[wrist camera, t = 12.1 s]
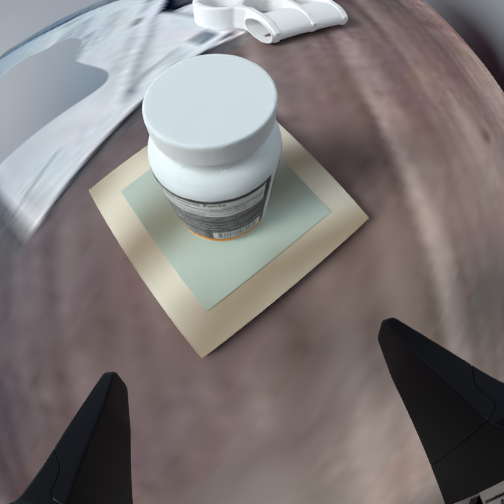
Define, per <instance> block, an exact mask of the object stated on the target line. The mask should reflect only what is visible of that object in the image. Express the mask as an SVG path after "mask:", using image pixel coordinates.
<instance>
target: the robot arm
mask: <svg viewBox="0 0 504 504" xmlns="http://www.w3.org/2000/svg"><path fill="white" fill-rule="evenodd" d="M378 341H379V344H380V347H381V350H382V352H383V355H384V358H385V360H386V363H387V366H388V369H389V372H390V374H391V377H392V379H393V381H394V384H395V386H396V388H397V390H398V392H399V394H400V396H401V398H402V400H403V402H404V405H405V407H406V409H407V411H408V413H409V415H410V418H411V420H412V422H413V424H414V427H415V429H416V431H417V433H418V436H419V438H420V440H421V443H422V445H423V447H424V450H425V452H426V455H427V457H428V459H429V462H430V464H431V467H432V470H433V472H434V475H435V477H436V480H437V483H438V485H439V488H440V491H441V493H442V496H443V499H444V502H445V504H454V503H456V502H459V501H461V500H464V499H466V498H469V497H471V496H473V495H476V494H477V495H476V496H474V497H473V498H472V499H471V500H470V503H469V504H504V383H502V382H500V381H498V380H496V379H494V378H492V377H491V376H489V375H487V374H485V373H484V372H482V371H480V370H479V369H477V368H476V367H474V366H471V364H469V363H467V362H466V361H464V360H463V359H461V358H459V357H458V356H456V355H455V354H453V353H451V352H450V351H448V350H447V349H445V348H443V347H442V346H440V345H438V344H437V343H435V342H434V341H432V340H430V339H429V338H427V337H425V336H424V335H422V334H420V333H419V332H417V331H416V330H414V329H412V328H411V327H409V326H407V325H406V324H404V323H402V322H401V321H399V320H397V319H396V318H389V319H386V320H383V322H382V324H381V328H380V331H379V335H378ZM10 504H133V499H132V482H131V429H130V417H129V405H128V391H127V387H126V385H125V383H124V382H123V381H122V380H121V378H120V377H119V376H118V374H117V373H115V372H107V373H104V374H103V375H102V377H101V378H100V380H99V381H98V383H97V384H96V385H95V387H94V388H93V390H92V391H91V393H90V394H89V396H88V397H87V399H86V400H85V402H84V403H83V405H82V406H81V408H80V409H79V411H78V412H77V414H76V415H75V417H74V418H73V420H72V421H71V423H70V424H69V426H68V428H67V429H66V431H65V432H64V434H63V435H62V437H61V439H60V440H59V442H58V443H57V445H56V446H55V449H54V450H53V451H52V453H51V454H50V456H49V458H48V459H47V461H46V462H45V464H44V465H43V467H42V468H41V470H40V471H39V472H38V474H37V475H36V477H35V478H34V479H33V480H32V482H31V483H30V484H29V486H28V487H27V488H26V490H25V491H24V492H23V494H22V495H21V496H20V497H19V498H18V499H17V500H16V501H14V502H12V503H10Z"/></svg>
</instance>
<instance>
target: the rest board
mask: <svg viewBox="0 0 504 504" xmlns="http://www.w3.org/2000/svg"><path fill="white" fill-rule="evenodd" d="M277 123H278V122H277ZM278 125H279V128H280V132H281V137H282V152H281V157H280V160H279V164H278V168H277V173H276V176H275V178H274V183H273V187H272V192H271V196H270V199H269V203H268V206H267V209H266V212H265V214H264V216H263V218H262V220H261V221H260V223H259V224H258V225H257V226H256V227H255V228H254V229H253V230H252V231H251V232H250V233H248V234H247V235H245V236H243V237H241V238H239V239H236V240H233V241H228V242H213V241H208V240H205V239H202V238H200V237H198V236H196V235H195V234H193V233H192V232H191V231H190V230H189V229H188V228H187V227H186V226H185V225H184V224H183V222H182V221H181V219H180V218H179V216H178V215H177V213H176V212H175V210H174V209H173V207H172V205H171V204H170V202H169V200H168V198H167V196H166V195H165V193H164V191H163V190H162V188H161V186H160V185H159V183H158V182H157V180H156V179H155V177H154V175H153V173H152V170H151V168H150V164H149V159H148V145H147V146H146V147H145V148H143V149H142V150H140V151H139V152H138V153H136V154H135V155H133V156H132V157H131V158H129V159H128V160H127V161H125V162H124V163H123V164H121V165H120V166H119V167H117V168H116V169H115V170H113V171H112V172H111V173H110V174H108V175H107V176H106V177H104V178H103V179H102V180H101V181H100V182H98V183H97V184H96V185H95V186H93V187H92V188H91V189H90V190H89V192H90V194H91V196H92V198H93V200H94V201H95V203H96V205H97V207H98V209H99V210H100V212H101V214H102V215H103V217H104V219H105V221H106V222H107V224H108V226H109V227H110V229H111V231H112V232H113V234H114V236H115V237H116V239H117V240H118V242H119V244H120V245H121V247H122V248H123V250H124V252H125V253H126V255H127V256H128V258H129V259H130V261H131V262H132V264H133V266H134V267H135V269H136V270H137V272H138V273H139V275H140V276H141V278H142V279H143V280H144V282H145V283H146V285H147V286H148V288H149V289H150V291H151V292H152V293H153V295H154V296H155V298H156V299H157V301H158V302H159V303H160V305H161V306H162V307H163V309H164V310H165V312H166V313H167V314H168V316H169V317H170V318H171V320H172V321H173V322H174V324H175V325H176V326H177V328H178V329H179V330H180V332H181V333H182V334H183V335H184V337H185V338H186V339H187V341H188V342H189V343H190V344H191V346H192V347H193V348H194V349H195V351H196V352H197V353H198V354H199V356H200V357H201V358H203V357H205V356H206V355H207V354H209V353H210V352H211V351H213V350H214V349H215V348H216V347H218V346H219V345H220V344H222V343H223V342H224V341H226V340H227V339H228V338H229V337H231V336H232V335H233V334H234V333H236V332H237V331H238V330H240V329H241V328H242V327H243V326H245V325H246V324H247V323H248V322H250V321H251V320H252V319H253V318H255V317H256V316H257V315H258V314H259V313H261V312H262V311H263V310H264V309H266V308H267V307H268V306H269V305H270V304H272V303H273V302H274V301H275V300H277V299H278V298H279V297H280V296H281V295H283V294H284V293H285V292H286V291H287V290H288V289H290V288H291V287H292V286H293V285H294V284H296V283H297V282H298V281H299V280H300V279H301V278H303V277H304V276H305V275H306V274H307V273H308V272H310V271H311V270H312V269H313V268H314V267H315V266H317V265H318V264H319V263H320V262H321V261H322V260H323V259H325V258H326V257H327V256H328V255H329V254H330V253H331V252H332V251H334V250H335V249H336V248H337V247H338V246H339V245H340V244H341V243H343V242H344V241H345V240H346V239H347V238H348V237H349V236H350V235H351V234H353V233H354V232H355V231H356V230H357V229H358V228H359V227H360V226H361V225H362V224H363V223H365V222H366V221H367V220H368V219H369V217H368V216H367V215H366V214H365V213H364V212H363V210H362V209H361V208H360V207H359V206H358V205H357V203H356V202H355V201H354V200H353V199H352V198H351V197H350V196H349V194H348V193H347V192H346V191H345V190H344V189H343V188H342V187H341V186H340V185H339V183H338V182H337V181H336V180H335V179H334V178H333V177H332V176H331V175H330V174H329V173H328V172H327V171H326V170H325V168H324V167H323V166H322V165H321V164H320V163H319V162H318V161H317V160H316V159H315V158H314V157H313V156H312V155H311V154H310V153H309V152H308V151H307V150H306V149H305V148H304V147H303V146H302V145H301V144H300V143H299V142H298V141H297V140H296V139H295V138H294V137H293V136H292V135H290V134H289V133H288V132H287V131H286V130H285V129H284V128H283V127H282V126H281V125H280V124H279V123H278Z"/></svg>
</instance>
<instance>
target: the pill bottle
mask: <svg viewBox="0 0 504 504" xmlns="http://www.w3.org/2000/svg"><path fill="white" fill-rule="evenodd" d="M277 104H278V95H277V90H276V86H275V84H274V82H273V80H272V78H271V77H270V75H269V74H268V73H267V72H266V71H265V70H264V69H262V68H261V67H260V66H258V65H257V64H255V63H253V62H251V61H249V60H247V59H244V58H241V57H238V56H233V55H226V54H208V55H200V56H195V57H191V58H188V59H185V60H183V61H180V62H178V63H176V64H174V65H172V66H171V67H169V68H168V69H166V70H165V71H163V72H162V73H161V74H160V75H159V76H158V77H157V78H156V79H155V80H154V81H153V82H152V84H151V85H150V86H149V88H148V90H147V92H146V94H145V96H144V100H143V106H142V112H143V118H144V122H145V125H146V127H147V129H148V132H149V134H150V136H149V141H148V159H149V164H150V168H151V170H152V173H153V175H154V177H155V179H156V180H157V182H158V183H159V185H160V186H161V188H162V190H163V191H164V193H165V195H166V196H167V198H168V200H169V202H170V204H171V205H172V207H173V209H174V210H175V212H176V213H177V215H178V216H179V218H180V219H181V221H182V222H183V224H184V225H185V226H186V227H187V228H188V229H189V230H190V231H191V232H192V233H193V234H195V235H196V236H198V237H200V238H202V239H205V240H208V241H213V242H228V241H233V240H236V239H239V238H241V237H243V236H245V235H247V234H248V233H250V232H251V231H252V230H253V229H254V228H255V227H256V226H257V225H258V224H259V223H260V221H261V220H262V218H263V216H264V214H265V212H266V209H267V206H268V203H269V199H270V196H271V192H272V187H273V183H274V178H275V176H276V173H277V168H278V164H279V160H280V157H281V152H282V137H281V132H280V128H279V125H278V123H277V121H276V110H277Z"/></svg>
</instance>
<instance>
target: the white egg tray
mask: <svg viewBox="0 0 504 504" xmlns="http://www.w3.org/2000/svg"><path fill="white" fill-rule="evenodd" d="M193 10H194V19H195V22H196V24H198V25H199V26H201V27H204V28H209V29H228V28H241V29H246V30H247V31H249V32H250V33H251V34H252V35H253V36H254V37H255V38H257V39H258V40H260V41H261V42H263V43H276V42H279V40H281V39H285V38H288V37H291V36H295V35H298V34H302V33H306V32H313V31H315V30H317V29H321V28H325V27H330V26H334V25H343V24H345V23H346V22H347V21H348V16H347V14H346V12H345V11H344V10H343V9H342V8H341V7H340V6H339V5H338V4H336V3H335V2H334V1H332V0H193ZM261 12H266V13H261ZM268 33H270V34H271V36H269V37H264V35H266V34H268Z"/></svg>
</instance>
